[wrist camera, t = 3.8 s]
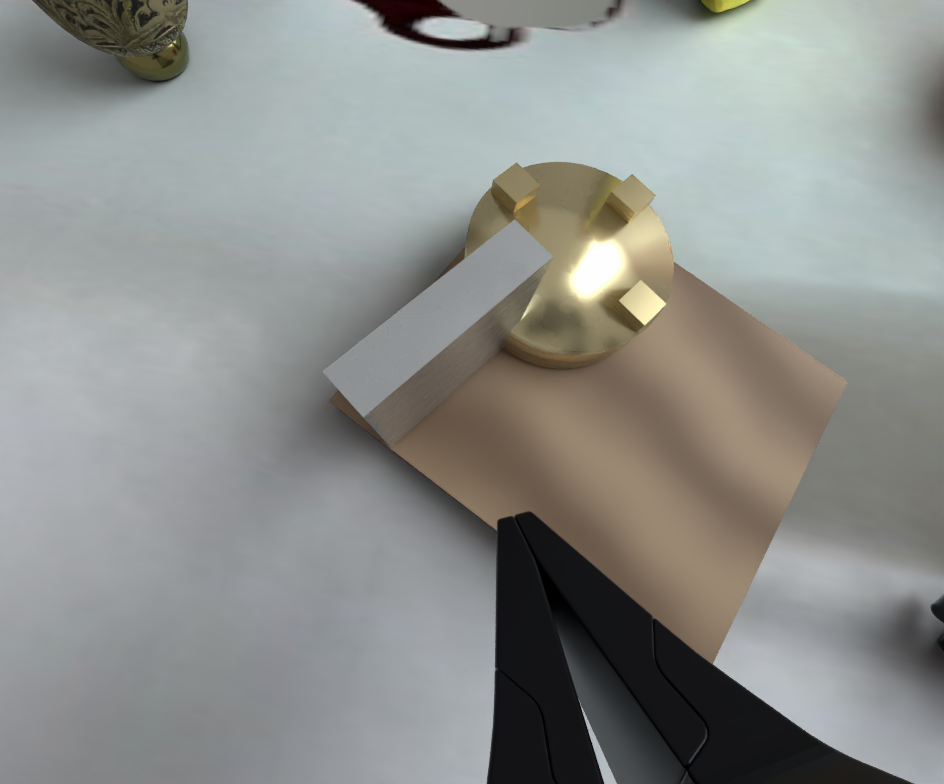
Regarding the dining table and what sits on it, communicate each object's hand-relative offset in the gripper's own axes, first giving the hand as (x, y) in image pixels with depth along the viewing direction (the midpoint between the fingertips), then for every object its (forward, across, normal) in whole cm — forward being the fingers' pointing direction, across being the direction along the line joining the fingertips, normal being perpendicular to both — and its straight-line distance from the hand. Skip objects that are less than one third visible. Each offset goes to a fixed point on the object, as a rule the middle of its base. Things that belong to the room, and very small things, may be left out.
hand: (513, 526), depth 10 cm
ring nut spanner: (+11, -3, 0) cm, 11 cm away
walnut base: (+9, -7, +4) cm, 12 cm away
